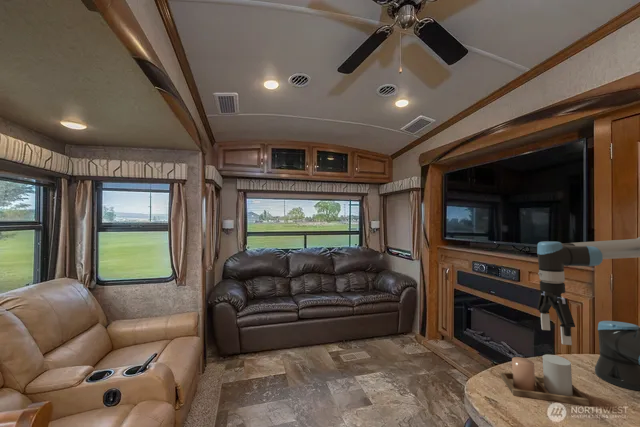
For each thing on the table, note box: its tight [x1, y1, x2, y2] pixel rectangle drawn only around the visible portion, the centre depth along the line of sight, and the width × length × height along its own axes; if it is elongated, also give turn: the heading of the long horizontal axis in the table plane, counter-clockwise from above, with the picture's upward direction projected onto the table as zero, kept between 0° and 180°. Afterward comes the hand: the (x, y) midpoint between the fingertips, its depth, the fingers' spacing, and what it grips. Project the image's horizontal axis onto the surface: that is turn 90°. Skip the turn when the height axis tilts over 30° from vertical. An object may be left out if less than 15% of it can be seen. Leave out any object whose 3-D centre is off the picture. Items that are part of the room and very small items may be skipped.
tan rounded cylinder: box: [511, 356, 536, 392], centre depth 105 cm, size 7×7×10 cm
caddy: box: [500, 371, 590, 407], centre depth 104 cm, size 23×13×2 cm, turn 74°
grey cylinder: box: [542, 354, 573, 397], centre depth 102 cm, size 8×8×12 cm
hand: (555, 336), depth 104 cm, fingers open, 13 cm apart
